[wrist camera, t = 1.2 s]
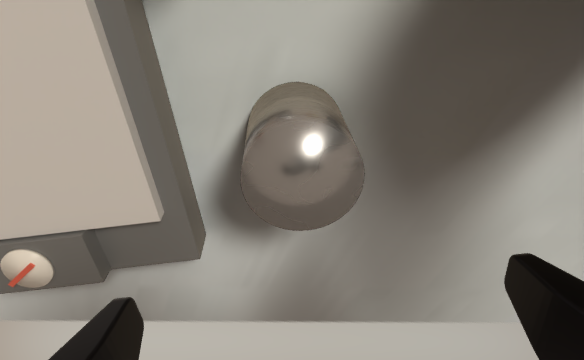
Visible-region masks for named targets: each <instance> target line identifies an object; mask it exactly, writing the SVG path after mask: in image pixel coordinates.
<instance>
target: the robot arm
mask: <svg viewBox="0 0 584 360" xmlns="http://www.w3.org/2000/svg"><path fill="white" fill-rule="evenodd" d="M504 284H505V289H506V291H507V294H508V296H509V298H510V300H511V302H512V304H513V306H514V309H515V311H516V313H517V315H518V317H519V319H520V322H521V324H522V326H523V328H524V330H525V332H526V335H527V337H528V339H529V341H530V343H531V345H532V347H533V349H534V351H535V353H536V355H537V356H538V358H539V360H584V281H582V280H580V279H578V278H576V277H574V276H573V275H571V274H569V273H567V272H565V271H563V270H561V269H559V268H557V267H556V266H554V265H552V264H550V263H548V262H546V261H544V260H542V259H540V258H539V257H537V256H535V255H533V254H530V253H525V254H516V255H512V256H511V257H510V259H509V262H508V267H507V271H506V275H505V280H504ZM143 330H144V323H143V319H142V317H141V314H140V312H139V310H138V308H137V305H136V303H135V301H134V299H133V298H131V297H126V298H117V299H114V300H112V301H111V302H110V303H109V304H108V305H107V306H106V307H105V308H104V309H102V310H101V311H100V312H99V313H98V314H97V315H96V316H95V317H94V318H93V319H92V320H91V321H90V322H88V323H87V324H86V325H85V326H84V327H83V328H82V329H81V330H80V331H79V332H78V333H77V334H76V335H74V336H73V337H72V338H71V339H70V340H69V341H68V342H67V343H66V344H65V345H64V346H63V347H62V348H60V349H59V350H58V351H57V352H56V353H55V354H54V355H53V356H52V357H51V358H50V359H49V360H138V359H139V354H140V348H141V341H142V336H143Z"/></svg>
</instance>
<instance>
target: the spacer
mask: <svg viewBox="0 0 584 360" xmlns="http://www.w3.org/2000/svg"><path fill="white" fill-rule="evenodd" d="M364 174H365V173H364V165H363V161H362V158H361V155H360V153H359V151H358V149H357V146H356V144H355V142H354V140H353V138H352V136H351V134H350V131H349V129H348V127H347V125H346V123H345V121H344V118H343V116H342V114H341V112H340V110H339V108H338V106H337V104H336V102H335V101H334V100H333V98H332V97H331V96H330V95H329V94H328V93H327V92H325V91H324V90H322V89H321V88H319V87H317V86H315V85H312V84H308V83H304V82H289V83H284V84H281V85H278V86H276V87H273V88H271V89H270V90H268V91H267V92H266V93H264V94H263V95H262V96H261V97H260V98H259V99H258V100H257V102H256V103H255V105H254V106H253V108H252V111H251V113H250V116H249V121H248V128H247V134H246V141H245V148H244V154H243V161H242V168H241V179H240V181H241V188H242V192H243V195H244V197H245V200H246V202H247V203H248V205H249V206H250V208H251V209H252V210H253V211H254V212H255V213H256V214H257V215H258V216H259V217H260V218H262V219H263V220H265V221H266V222H268V223H270V224H272V225H274V226H277V227H280V228H283V229H288V230H298V231H303V230H312V229H317V228H321V227H324V226H326V225H329V224H331V223H333V222H335V221H337V220H338V219H339V218H341V217H342V216H344V215H345V214H346V213H347V212H348V211H349V210H350V209H351V208H352V207H353V205H354V204H355V203H356V201H357V199H358V198H359V196H360V194H361V191H362V188H363V184H364Z"/></svg>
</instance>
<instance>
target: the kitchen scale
mask: <svg viewBox="0 0 584 360" xmlns="http://www.w3.org/2000/svg"><path fill="white" fill-rule="evenodd" d="M205 237H206V232H205V229H204V225H203V221H202V218H201V214H200V210H199V207H198V203H197V199H196V196H195V192H194V189H193V185H192V181H191V178H190V174H189V170H188V167H187V163H186V160H185V156H184V152H183V149H182V145H181V141H180V138H179V134H178V130H177V127H176V123H175V120H174V116H173V112H172V109H171V105H170V101H169V98H168V94H167V91H166V87H165V83H164V80H163V76H162V72H161V69H160V65H159V61H158V58H157V54H156V51H155V47H154V43H153V40H152V36H151V32H150V29H149V25H148V22H147V18H146V14H145V11H144V7H143V3H142V0H0V294H4V293H12V292H21V291H30V290H39V289H47V288H56V287H65V286H74V285H82V284H91V283H100V282H104V280H105V278H106V276H107V275H108V273H109V271H110V269H118V268H126V267H135V266H144V265H152V264H161V263H170V262H178V261H187V260H196V259H200V258H201V254H202V250H203V245H204V241H205Z"/></svg>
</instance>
